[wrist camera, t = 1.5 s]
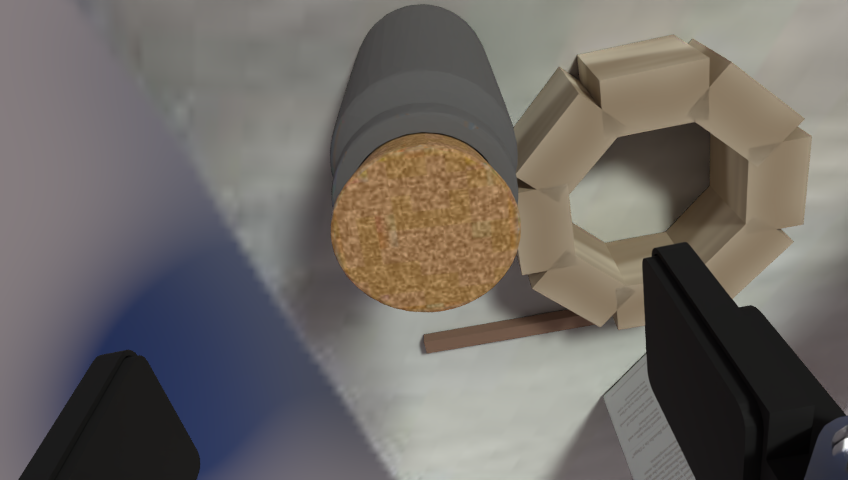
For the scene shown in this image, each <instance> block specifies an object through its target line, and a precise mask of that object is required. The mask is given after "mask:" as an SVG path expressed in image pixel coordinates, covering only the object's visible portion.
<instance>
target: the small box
mask: <svg viewBox="0 0 848 480" xmlns="http://www.w3.org/2000/svg"><path fill="white" fill-rule="evenodd" d="M604 402H605V405H606V407H607V410H608V413H609V415H610V418H611V421H612V423H613V426H614V429H615V432H616V434H617V437H618V440H619V443H620V445H621V448H622V451H623V453H624V456H625V459H626V462H627V464H628V467H629V470H630V473H631V475H632V478H633V480H696V479H695V477H694V475H693V473H692V471H691V469H690V467H689V465H688V463H687V461H686V459H685V457H684V455H683V452H682V450H681V448H680V446H679V444H678V442H677V440H676V438H675V436H674V434H673V432H672V430H671V428H670V426H669V424H668V422H667V420H666V418H665V416H664V413H663V411H662V409H661V407H660V405H659V403H658V401H657V399H656V397H655V395H654V393H653V391H652V388H651V385H650V382H649V378H648V372H647V354H645V355H644V356H643V357H642V358H641V359H640V360H639V361H638V362H637V363H636V364H635V365H634V366H633V367H632V368H631V369H630V370H629V371H628V372H627V373H626V374H625V375H624V376H623V377H622V378H621V379H620V380H619V381H618V382H617V383H616V384H615V385H614V386H613V387H612V388H611V389H610V390H609V391H608V392H607V393H606V394H605V395H604Z"/></svg>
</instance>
